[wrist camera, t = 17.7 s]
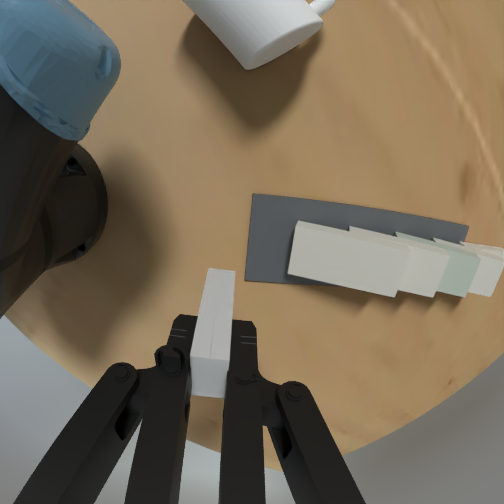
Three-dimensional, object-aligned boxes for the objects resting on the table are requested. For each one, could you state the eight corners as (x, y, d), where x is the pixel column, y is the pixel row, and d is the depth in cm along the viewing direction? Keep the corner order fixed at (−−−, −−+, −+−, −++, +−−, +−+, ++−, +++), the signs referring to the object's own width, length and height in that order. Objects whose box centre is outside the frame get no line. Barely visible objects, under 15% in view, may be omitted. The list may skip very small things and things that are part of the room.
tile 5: (452, 283, 31) (496, 283, 32) (466, 247, 28) (508, 252, 29) (446, 276, 32) (490, 277, 33) (458, 241, 30) (502, 247, 31)
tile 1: (287, 273, 30) (394, 297, 27) (295, 225, 27) (411, 252, 25) (290, 266, 31) (392, 289, 29) (298, 220, 29) (407, 245, 26)
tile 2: (338, 276, 30) (433, 297, 27) (349, 231, 28) (449, 256, 25) (338, 269, 32) (429, 289, 29) (349, 225, 29) (445, 249, 26)
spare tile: (384, 279, 30) (465, 297, 28) (397, 236, 28) (481, 259, 25) (382, 272, 32) (461, 290, 29) (395, 231, 30) (475, 253, 27)
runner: (244, 278, 32) (244, 280, 32) (253, 193, 28) (253, 194, 28) (444, 289, 34) (445, 290, 34) (467, 225, 29) (469, 226, 29)
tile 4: (422, 281, 31) (490, 296, 28) (436, 242, 28) (505, 262, 25) (420, 275, 32) (486, 290, 29) (432, 237, 30) (500, 256, 27)
